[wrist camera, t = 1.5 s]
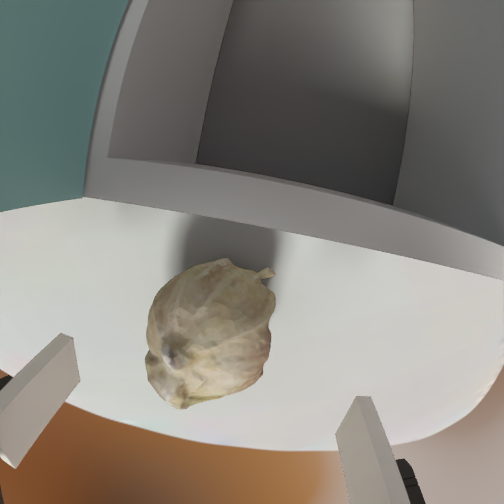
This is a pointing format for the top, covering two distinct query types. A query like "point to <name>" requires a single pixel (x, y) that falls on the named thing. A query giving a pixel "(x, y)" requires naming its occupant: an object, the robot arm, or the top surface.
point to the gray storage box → (299, 194)
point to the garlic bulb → (209, 333)
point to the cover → (50, 94)
